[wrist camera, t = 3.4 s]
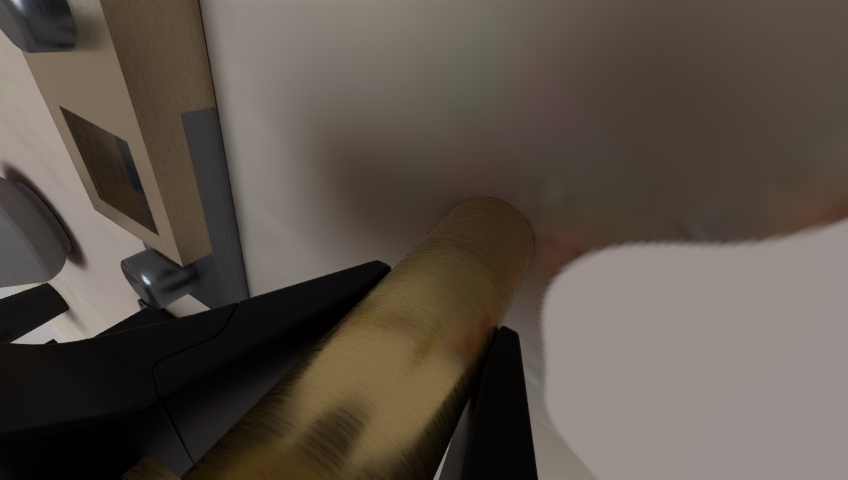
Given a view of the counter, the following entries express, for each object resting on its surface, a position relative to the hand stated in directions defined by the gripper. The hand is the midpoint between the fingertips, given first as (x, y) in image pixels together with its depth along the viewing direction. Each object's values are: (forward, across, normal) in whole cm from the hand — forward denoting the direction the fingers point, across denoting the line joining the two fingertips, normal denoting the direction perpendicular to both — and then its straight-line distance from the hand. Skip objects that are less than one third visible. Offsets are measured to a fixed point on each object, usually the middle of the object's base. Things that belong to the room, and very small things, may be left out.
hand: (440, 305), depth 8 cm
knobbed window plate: (+4, +16, +3) cm, 17 cm away
